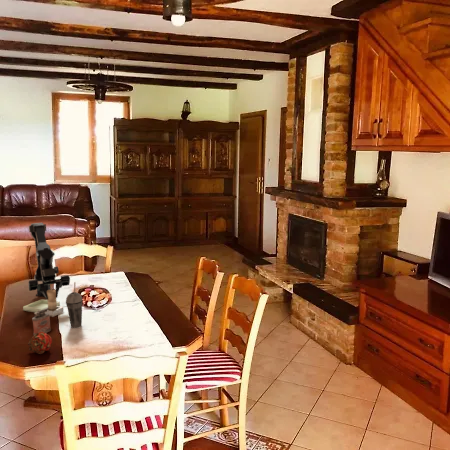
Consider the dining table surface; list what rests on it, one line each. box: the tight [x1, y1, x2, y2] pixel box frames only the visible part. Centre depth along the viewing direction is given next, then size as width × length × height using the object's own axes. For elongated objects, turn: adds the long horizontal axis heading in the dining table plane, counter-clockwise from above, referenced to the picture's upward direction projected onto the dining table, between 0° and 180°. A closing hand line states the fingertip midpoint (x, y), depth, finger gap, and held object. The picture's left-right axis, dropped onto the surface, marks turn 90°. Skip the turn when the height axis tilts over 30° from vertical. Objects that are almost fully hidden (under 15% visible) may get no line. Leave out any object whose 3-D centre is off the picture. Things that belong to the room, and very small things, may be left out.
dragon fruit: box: [27, 332, 53, 355], centre depth 190 cm, size 8×8×12 cm
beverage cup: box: [65, 281, 84, 329], centre depth 214 cm, size 7×7×20 cm
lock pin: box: [46, 288, 58, 311], centre depth 232 cm, size 4×4×10 cm
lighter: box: [31, 309, 52, 336], centre depth 209 cm, size 8×3×10 cm, turn 148°
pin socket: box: [45, 306, 65, 318], centre depth 233 cm, size 7×7×2 cm
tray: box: [22, 298, 61, 313], centre depth 241 cm, size 12×12×2 cm
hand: (52, 298), depth 230 cm, fingers closed on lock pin, 4 cm apart
